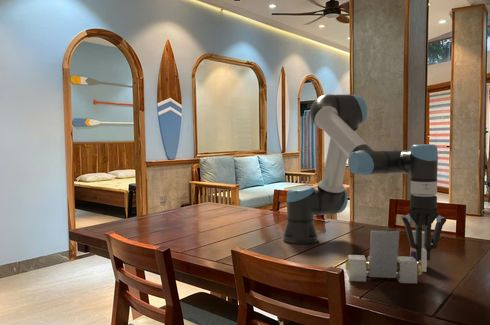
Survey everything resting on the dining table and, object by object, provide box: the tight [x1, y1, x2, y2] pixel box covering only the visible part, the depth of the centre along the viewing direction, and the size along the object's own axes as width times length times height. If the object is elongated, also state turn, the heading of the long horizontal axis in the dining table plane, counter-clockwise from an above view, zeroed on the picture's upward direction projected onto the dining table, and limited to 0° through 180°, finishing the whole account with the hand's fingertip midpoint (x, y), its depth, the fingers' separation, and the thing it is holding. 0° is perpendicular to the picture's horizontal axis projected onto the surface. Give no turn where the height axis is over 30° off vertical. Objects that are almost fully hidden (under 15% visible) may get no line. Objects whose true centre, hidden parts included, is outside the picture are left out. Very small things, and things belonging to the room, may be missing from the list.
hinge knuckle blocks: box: [346, 254, 418, 284], centre depth 130 cm, size 20×12×7 cm, turn 81°
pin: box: [345, 260, 423, 275], centre depth 127 cm, size 22×4×4 cm, turn 81°
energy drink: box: [409, 229, 425, 262], centre depth 140 cm, size 5×5×12 cm
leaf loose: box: [366, 230, 400, 279], centre depth 125 cm, size 8×16×5 cm
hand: (422, 270), depth 125 cm, fingers closed
